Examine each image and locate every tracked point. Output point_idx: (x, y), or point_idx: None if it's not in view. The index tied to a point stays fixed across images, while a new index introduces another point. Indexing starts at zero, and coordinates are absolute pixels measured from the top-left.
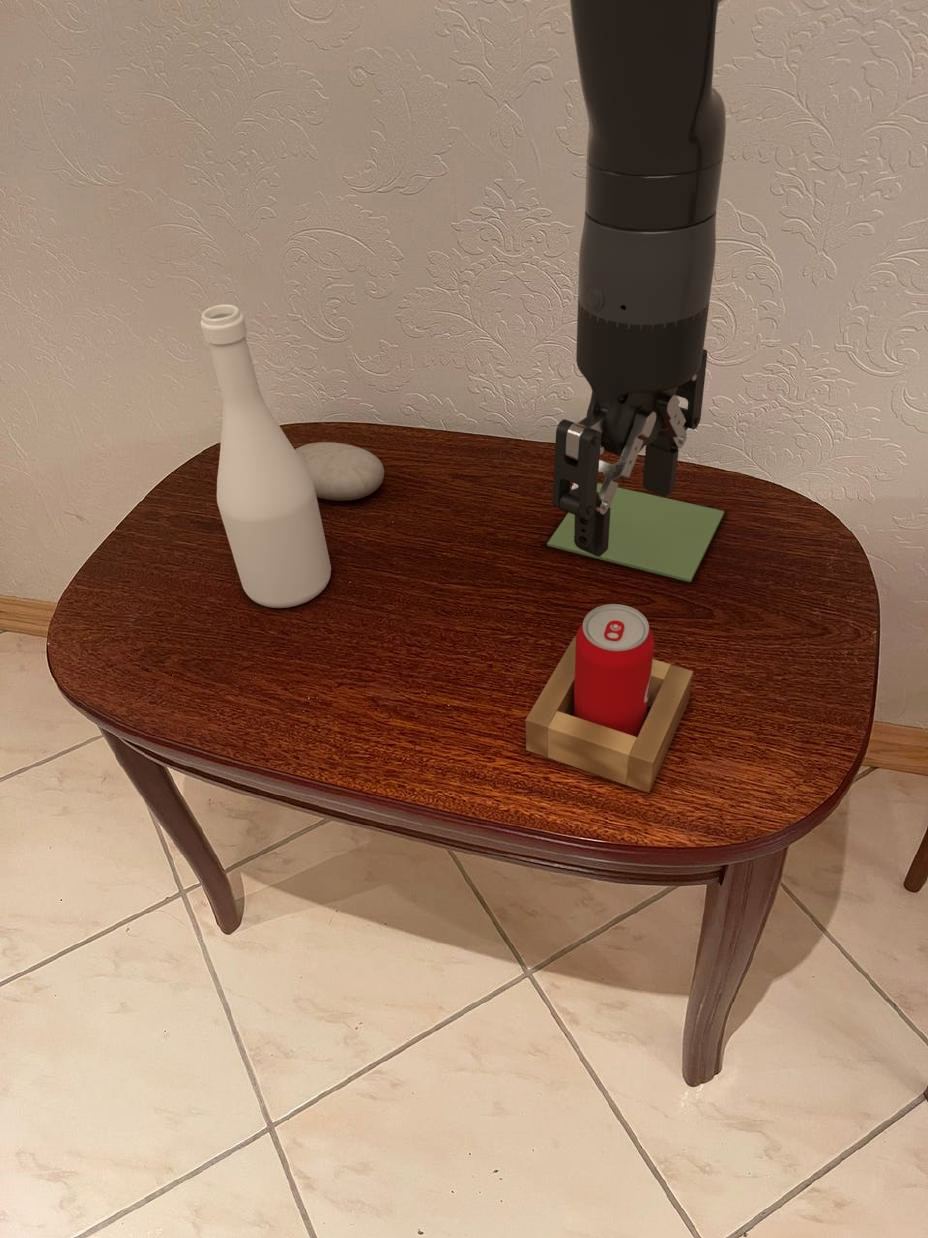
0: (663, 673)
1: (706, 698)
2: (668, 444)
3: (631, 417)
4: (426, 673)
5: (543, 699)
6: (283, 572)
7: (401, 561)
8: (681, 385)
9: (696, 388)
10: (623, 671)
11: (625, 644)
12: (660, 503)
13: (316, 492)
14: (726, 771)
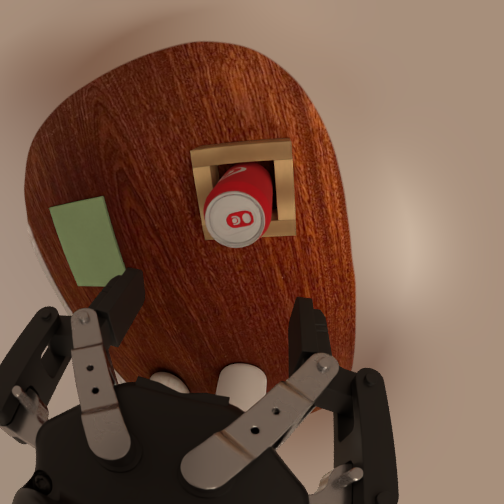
0: (204, 168)
1: (189, 137)
2: (102, 329)
3: (239, 494)
4: (265, 298)
5: (272, 232)
6: (257, 387)
7: (195, 343)
8: (35, 383)
9: (21, 367)
10: (264, 193)
11: (250, 204)
12: (65, 243)
13: (188, 391)
14: (244, 100)
